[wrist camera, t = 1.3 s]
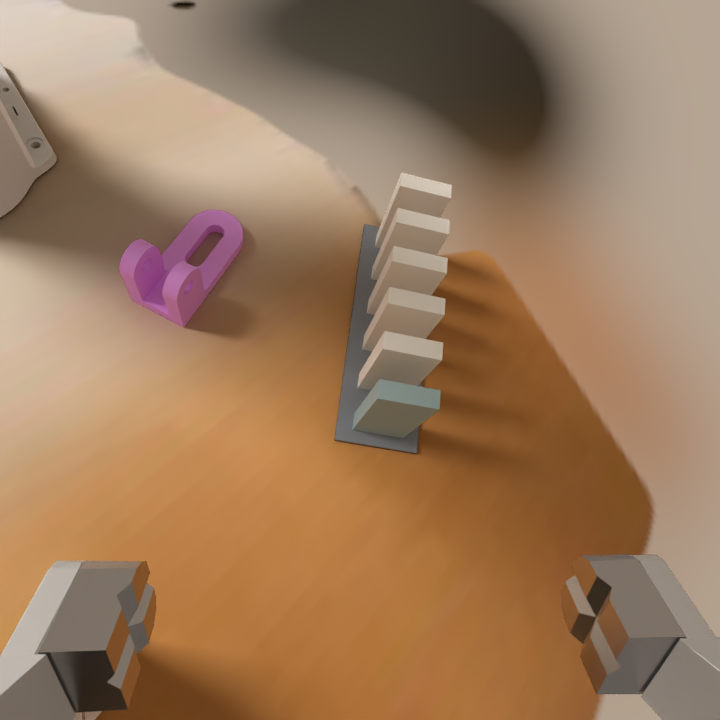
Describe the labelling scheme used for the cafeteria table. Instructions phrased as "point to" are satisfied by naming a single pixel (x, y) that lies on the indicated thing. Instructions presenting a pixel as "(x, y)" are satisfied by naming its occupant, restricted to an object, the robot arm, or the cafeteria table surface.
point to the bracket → (180, 267)
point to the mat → (363, 359)
